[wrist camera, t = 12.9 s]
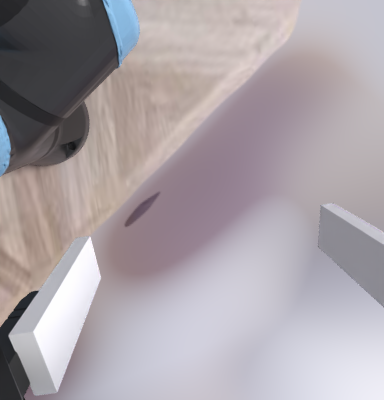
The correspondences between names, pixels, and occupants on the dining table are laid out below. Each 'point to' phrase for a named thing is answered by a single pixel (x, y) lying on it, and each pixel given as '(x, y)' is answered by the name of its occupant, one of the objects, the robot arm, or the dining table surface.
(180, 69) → the dining table surface
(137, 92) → the dining table surface
